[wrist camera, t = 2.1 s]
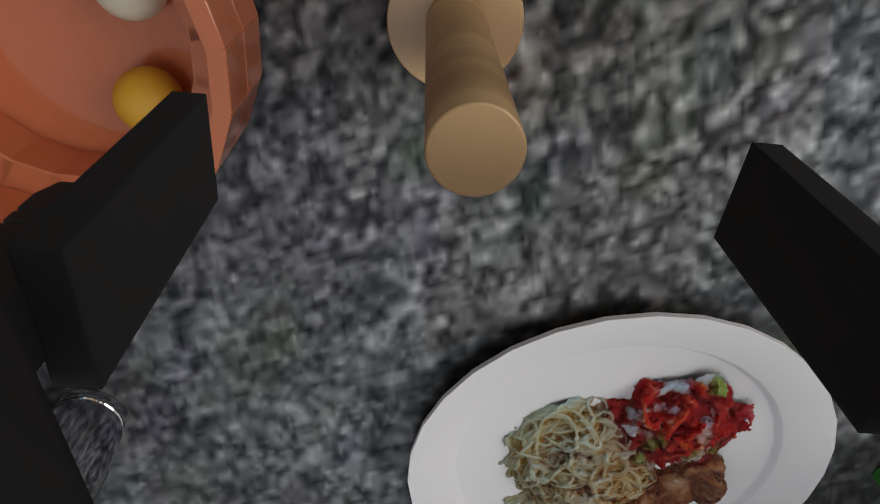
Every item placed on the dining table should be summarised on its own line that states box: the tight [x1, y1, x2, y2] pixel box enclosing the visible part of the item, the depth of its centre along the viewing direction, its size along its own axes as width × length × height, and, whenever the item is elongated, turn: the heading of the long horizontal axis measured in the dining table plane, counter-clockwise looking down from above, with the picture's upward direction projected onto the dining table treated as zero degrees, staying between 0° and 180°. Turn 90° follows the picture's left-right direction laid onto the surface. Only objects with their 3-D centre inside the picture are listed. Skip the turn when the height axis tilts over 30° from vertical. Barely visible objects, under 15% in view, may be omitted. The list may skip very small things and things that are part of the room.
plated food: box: [408, 312, 837, 504], centre depth 44 cm, size 30×30×3 cm
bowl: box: [0, 0, 262, 223], centre depth 25 cm, size 17×17×6 cm
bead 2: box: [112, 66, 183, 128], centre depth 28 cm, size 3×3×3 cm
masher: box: [387, 0, 527, 197], centre depth 22 cm, size 6×6×15 cm
